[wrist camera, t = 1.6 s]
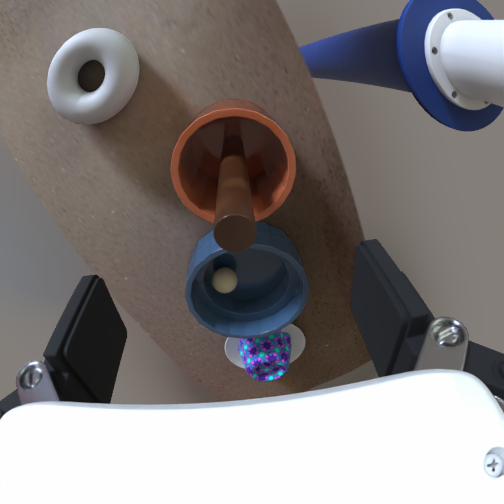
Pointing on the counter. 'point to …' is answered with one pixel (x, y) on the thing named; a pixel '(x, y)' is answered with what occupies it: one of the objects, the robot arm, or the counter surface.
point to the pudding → (267, 353)
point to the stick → (234, 200)
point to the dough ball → (224, 280)
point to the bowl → (248, 285)
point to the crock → (256, 153)
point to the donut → (115, 82)
